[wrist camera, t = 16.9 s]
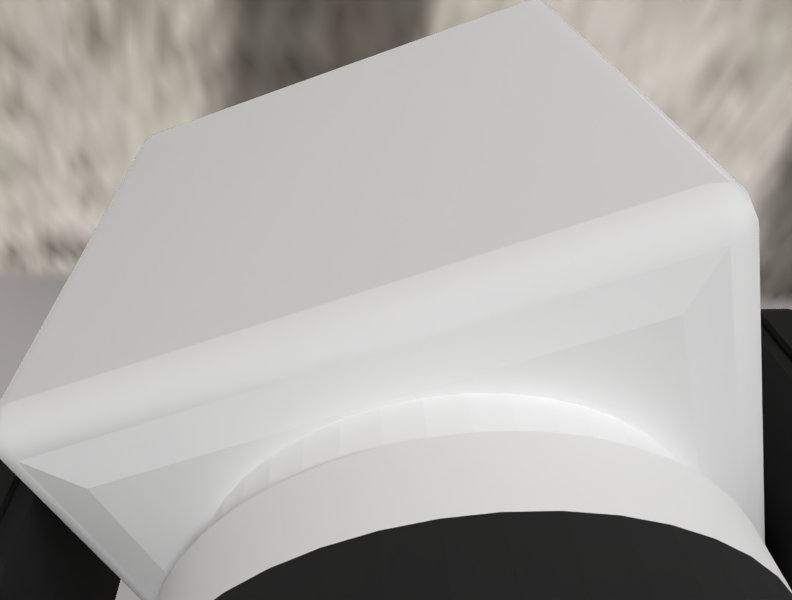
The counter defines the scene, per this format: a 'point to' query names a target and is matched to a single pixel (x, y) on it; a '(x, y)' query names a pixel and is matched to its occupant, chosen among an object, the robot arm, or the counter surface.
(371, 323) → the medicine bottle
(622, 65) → the counter surface
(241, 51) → the counter surface
